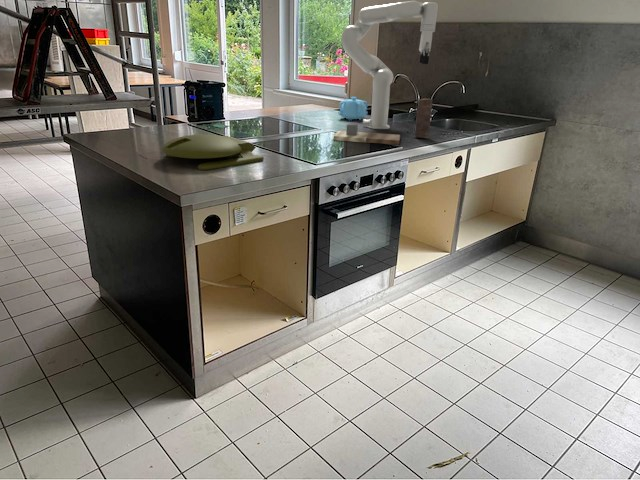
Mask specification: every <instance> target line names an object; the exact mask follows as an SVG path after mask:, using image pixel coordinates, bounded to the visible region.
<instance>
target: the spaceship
mask: <svg viewBox="0 0 640 480" xmlns="http://www.w3.org/2000/svg"><path fill="white" fill-rule="evenodd" d="M256 148H257V147H256V146H255V145H254V144H252V143H251V142H249V141H247V140H242V139H238V138H235V137H232V136H227V135H217V134H215V135H214V134H204V133H203V134H201V133H200V134H191V135H184V136H183V135H182V136H179V137H176V138H173V139H171V140H169V141H167V142H166V143H164V145H163V146H162V148H161V152H162V153H163V154H165V157H167V158H181V159H182V158H184V159H216V158H224V157H230V156H234V157H237V158H234V157H233V158H229V159H221V160H216V161H210V162H209V161H208V162H203V163H200V164H199V165H198V166H197V169H198V170H200V171H211V170H217V169H223V168H230V167H235V166H242V165H246V164H253V163H261V162H263V160H264V156H263V155H260V154H253V151H254V150H255V149H256ZM239 156H240V157H239Z"/></svg>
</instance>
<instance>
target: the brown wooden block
mask: <svg viewBox="0 0 640 480" xmlns="http://www.w3.org/2000/svg"><path fill="white" fill-rule="evenodd" d="M416 109H417V110H416V120H415V129H414V136H415V137H416V138H418V139H419V138H420V139H421V138H423V139H429V138H430V131H431V129H430V128H431V118H432V110H433V98H422V99H421V98H420V99H418V100H417V108H416Z"/></svg>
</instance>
